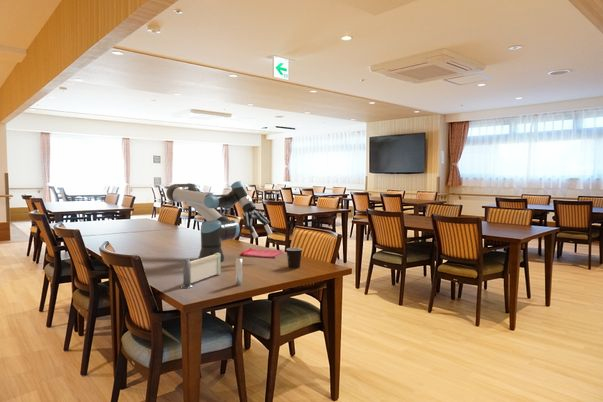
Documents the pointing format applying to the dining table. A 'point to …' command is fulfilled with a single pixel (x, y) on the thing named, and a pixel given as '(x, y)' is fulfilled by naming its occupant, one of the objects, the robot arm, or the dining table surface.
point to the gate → (201, 268)
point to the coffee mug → (294, 257)
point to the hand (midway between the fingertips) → (263, 235)
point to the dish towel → (261, 253)
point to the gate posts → (238, 274)
